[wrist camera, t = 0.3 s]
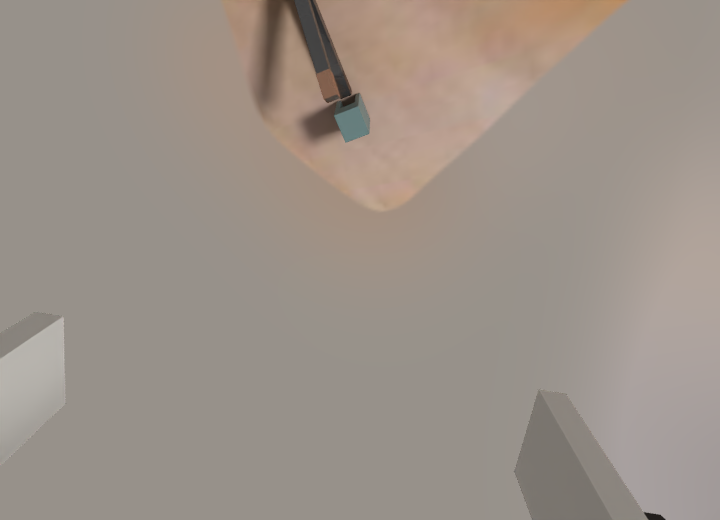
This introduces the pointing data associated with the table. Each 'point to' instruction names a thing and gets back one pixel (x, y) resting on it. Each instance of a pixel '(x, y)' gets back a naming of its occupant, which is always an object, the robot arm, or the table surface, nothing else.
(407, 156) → the table surface
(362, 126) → the teal matte cube
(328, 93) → the bar
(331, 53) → the arm
